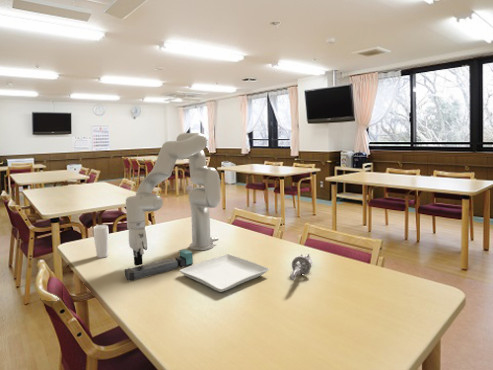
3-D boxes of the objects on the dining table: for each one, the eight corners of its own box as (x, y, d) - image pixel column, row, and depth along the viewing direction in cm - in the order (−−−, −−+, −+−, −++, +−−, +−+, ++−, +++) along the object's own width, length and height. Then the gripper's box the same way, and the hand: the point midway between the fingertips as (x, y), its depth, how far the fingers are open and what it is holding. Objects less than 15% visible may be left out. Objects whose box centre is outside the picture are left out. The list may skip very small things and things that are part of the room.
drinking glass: (104, 259, 166) (102, 228, 164) (92, 258, 168) (89, 228, 166) (112, 254, 173) (111, 225, 171) (100, 253, 174) (98, 224, 172)
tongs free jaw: (172, 264, 158) (171, 257, 158) (175, 266, 156) (174, 259, 156) (124, 276, 145) (124, 269, 145) (127, 278, 143) (126, 271, 142)
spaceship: (278, 270, 131) (297, 264, 128) (297, 250, 163) (313, 246, 161) (285, 290, 130) (305, 285, 127) (303, 267, 163) (319, 262, 160)
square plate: (227, 260, 164) (227, 252, 164) (270, 276, 145) (270, 268, 144) (178, 277, 146) (178, 268, 145) (221, 298, 126) (220, 288, 126)
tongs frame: (187, 261, 163) (187, 254, 162) (193, 264, 158) (193, 257, 158) (125, 277, 145) (124, 269, 145) (129, 281, 141) (129, 273, 140)
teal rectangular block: (185, 259, 163) (185, 248, 162) (192, 263, 157) (192, 252, 157) (179, 260, 161) (179, 250, 160) (186, 264, 156) (186, 253, 155)
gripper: (151, 226, 149) (153, 267, 152) (137, 219, 160) (140, 258, 163) (134, 229, 144) (136, 271, 147) (121, 222, 156) (124, 261, 158)
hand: (138, 264), depth 155 cm, fingers closed
